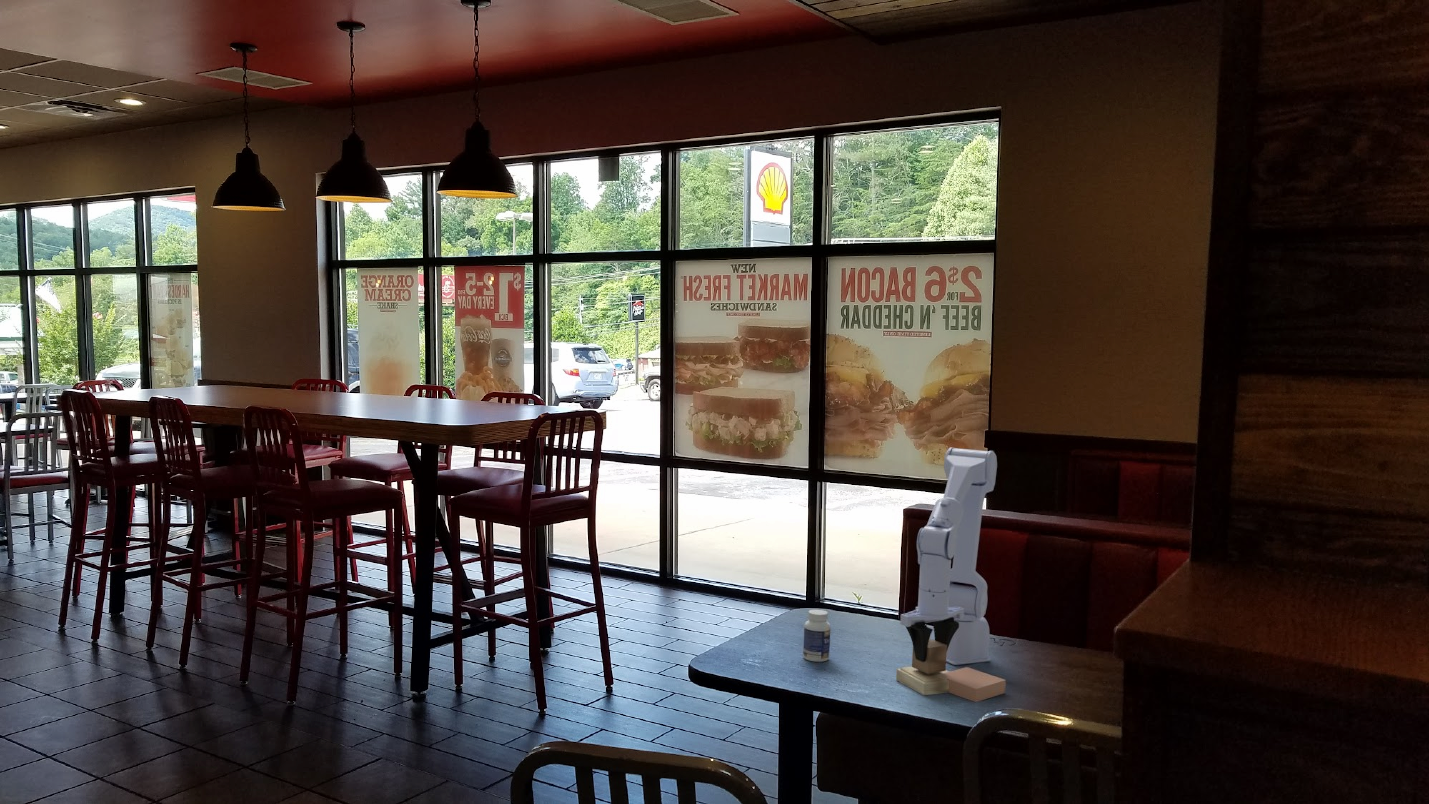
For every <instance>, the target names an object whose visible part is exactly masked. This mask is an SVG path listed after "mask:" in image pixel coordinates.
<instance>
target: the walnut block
mask: <svg viewBox="0 0 1429 804" xmlns="http://www.w3.org/2000/svg"><path fill="white" fill-rule="evenodd" d="M946 654H947V645H945V644H943V643H940V642H938V641H935V639H932V638H929V642H928V649H927V657H926V661H925V662H921V661H919V660H917V659H916V657H915V652H914V647H913V646H912V659H911V660H912V661H911V667H913V668H916V669H918V670H920V671H922V672H925V673H927V674H931V673H936V672H942V671H946V670H947V668H946V667H947V661H946Z"/></svg>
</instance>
